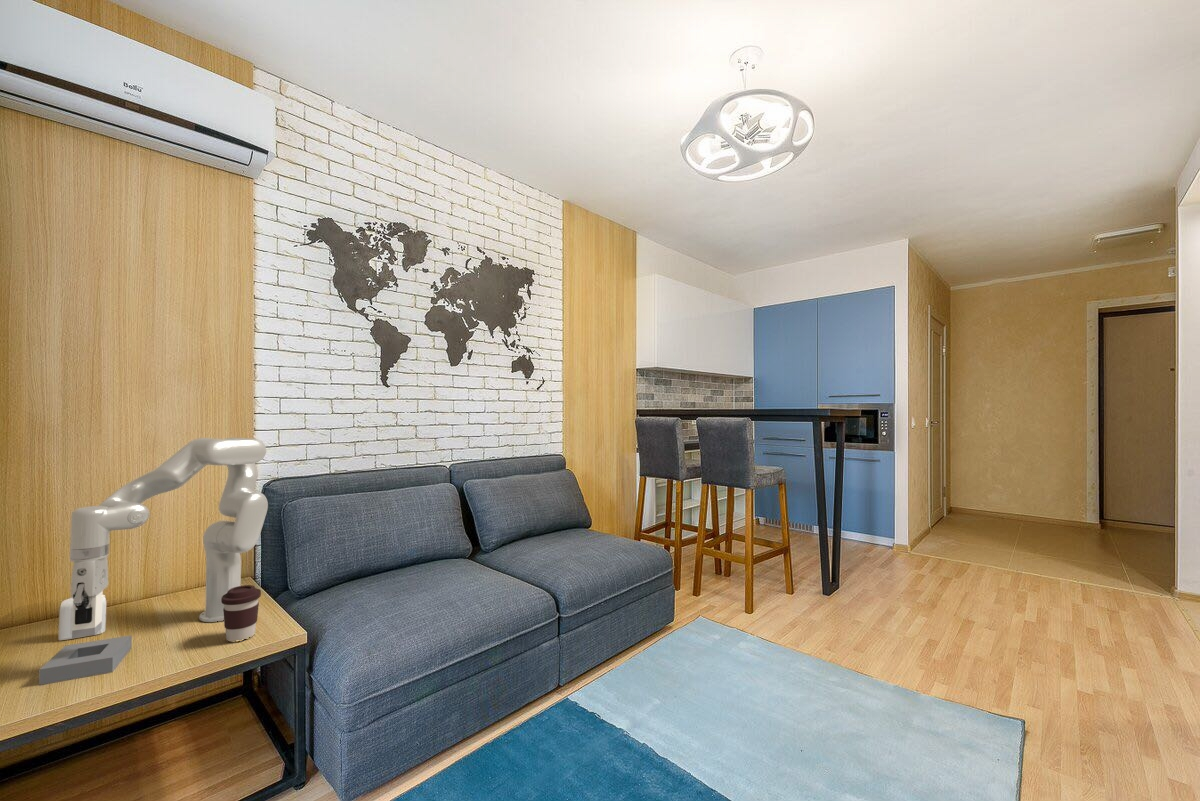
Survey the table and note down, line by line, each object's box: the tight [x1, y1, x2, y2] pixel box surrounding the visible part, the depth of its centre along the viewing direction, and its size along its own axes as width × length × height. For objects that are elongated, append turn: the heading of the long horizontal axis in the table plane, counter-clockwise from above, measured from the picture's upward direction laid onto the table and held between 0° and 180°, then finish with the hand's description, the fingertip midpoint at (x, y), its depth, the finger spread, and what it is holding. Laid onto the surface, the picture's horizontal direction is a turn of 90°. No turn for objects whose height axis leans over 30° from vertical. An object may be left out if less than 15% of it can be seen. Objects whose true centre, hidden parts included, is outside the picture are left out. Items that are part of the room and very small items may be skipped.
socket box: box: [38, 635, 133, 686], centre depth 138 cm, size 14×14×4 cm
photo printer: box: [58, 594, 107, 641], centre depth 155 cm, size 10×4×12 cm, turn 123°
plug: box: [72, 590, 104, 639], centre depth 137 cm, size 4×4×12 cm
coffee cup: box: [221, 584, 262, 642], centre depth 155 cm, size 10×10×15 cm
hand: (87, 618), depth 137 cm, fingers closed on plug, 4 cm apart
